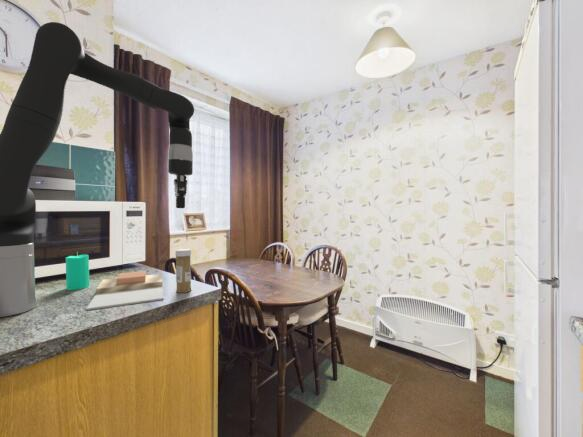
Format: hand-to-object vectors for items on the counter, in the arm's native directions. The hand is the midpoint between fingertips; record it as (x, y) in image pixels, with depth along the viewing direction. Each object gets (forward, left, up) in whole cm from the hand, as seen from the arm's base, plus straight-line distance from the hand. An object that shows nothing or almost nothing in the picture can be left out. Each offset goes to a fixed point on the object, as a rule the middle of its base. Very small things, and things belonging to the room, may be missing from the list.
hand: (180, 208), depth 88 cm
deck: (-15, +7, -27) cm, 31 cm away
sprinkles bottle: (0, -6, -27) cm, 28 cm away
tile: (-15, +7, -25) cm, 30 cm away
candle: (-31, +14, -27) cm, 43 cm away
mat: (-15, -6, -27) cm, 31 cm away
